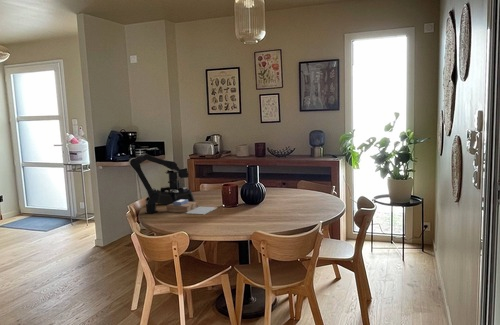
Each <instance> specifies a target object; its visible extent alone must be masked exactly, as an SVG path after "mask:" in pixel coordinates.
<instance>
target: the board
mask: <svg viewBox="0 0 500 325" xmlns="http://www.w3.org/2000/svg"><path fill="white" fill-rule="evenodd" d="M197 207H199V202H198V201H194V202H189V201H188V203H186V204H183V205H174V203H172V204H166V212H171V213H185V214H188V213H187V212H189V211H191V210H193V209H195V208H197Z"/></svg>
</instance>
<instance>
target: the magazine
mask: <svg viewBox="0 0 500 325" xmlns="http://www.w3.org/2000/svg"><path fill="white" fill-rule="evenodd" d="M156 191H157V193H158V194H159V195H158V200H157V201H156V204H157V205H169V204H172V203H173V202H174V201H173V199H172V198H171V196H170V195H169V193H168V191H165V192H161V191H160V190H159V189H156ZM180 199H188V201H189V202H196V199H195V196H194V194H193V192H192V189H191V188H188V191H186V192H183V193H180V192H179V193H178V196H177V199H176V201H177V200H180Z"/></svg>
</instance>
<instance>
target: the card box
mask: <svg viewBox="0 0 500 325" xmlns="http://www.w3.org/2000/svg"><path fill="white" fill-rule="evenodd" d="M173 203H174V205H183V204H186V203H188V199H180V200H177V201H175V202H173Z"/></svg>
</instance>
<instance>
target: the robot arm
mask: <svg viewBox="0 0 500 325" xmlns="http://www.w3.org/2000/svg"><path fill="white" fill-rule="evenodd" d="M146 161H148V162H152V163H156V164H159V165H161V166H163V167H165V168H167V169H166V171H165V172H164V173H165V174H166V175H167V174H168V181H167V184H168V185H169V186H163V187H160V191H161V192H165V191H168V193H169V195H170V196H171V198H172V199H173V201H174V202H175V201H176V199H177V196H178V193H179V192H180V193H183V192H186V191H188V190H189V188H188V187H187V186H183V182H180V180H181V179H188V178H189V171H188V168H187V167H183V168H179V166H178V163H177V162H176V161H174V160H168V159H162V158H159V157H156V156H155V155H154V156H153V155H150V154H148V153H143V154H141V155H139V156H136V157H131V158H130V159H129V160H128V164H129V166H130V167H131V168H132V169H133V170H134V172H135V173H136V174H137V176H138V178H139V180H140V182H141V183H142V185H143V187H144V189H145V191H146V194H147V197H146V199H144V202H145V203H146V204H145V208H146V211H145V212H144V214H155V213H157V212H159V210H157V203H156V201H157V200H158V195H159V194H158V193H157V189H156V188H154V187H153V188H152V186H151V185H150V181H148V179H147V177H146V176H145V173H144V172H143V170H142V167H141V164H142V163H144V162H146ZM178 178H179V179H180V180H178Z"/></svg>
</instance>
